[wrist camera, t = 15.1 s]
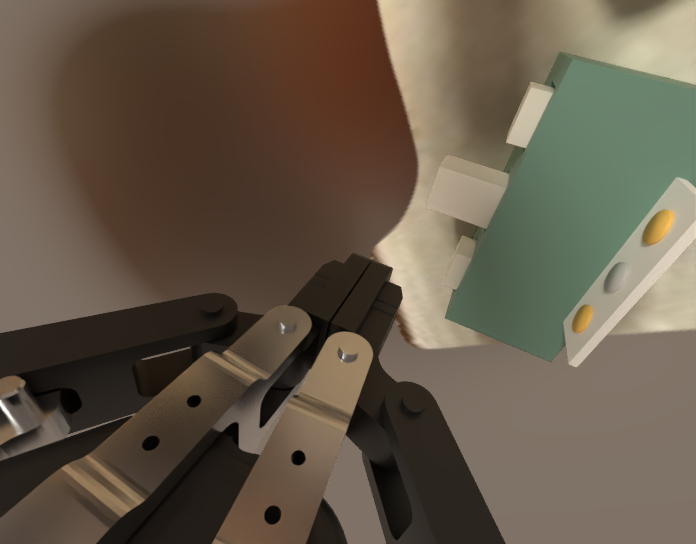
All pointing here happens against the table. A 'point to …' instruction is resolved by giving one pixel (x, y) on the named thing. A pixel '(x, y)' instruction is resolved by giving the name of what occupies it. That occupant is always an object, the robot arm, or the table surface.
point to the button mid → (467, 190)
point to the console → (585, 211)
